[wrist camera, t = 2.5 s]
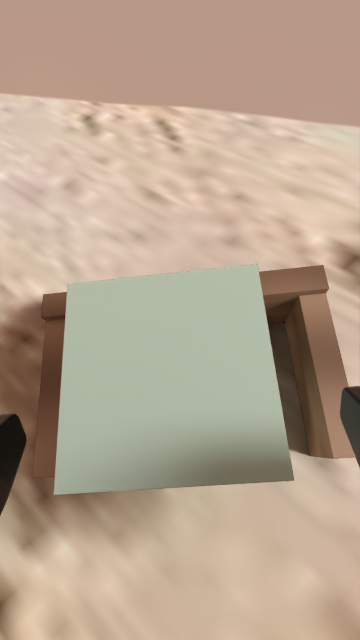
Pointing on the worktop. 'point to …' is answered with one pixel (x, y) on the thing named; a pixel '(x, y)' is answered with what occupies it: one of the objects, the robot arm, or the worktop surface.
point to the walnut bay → (281, 306)
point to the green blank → (169, 384)
